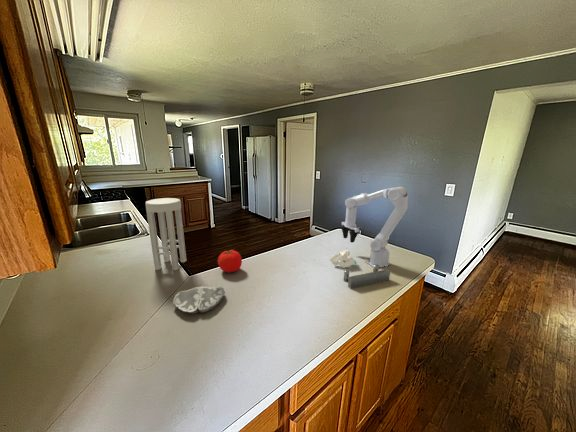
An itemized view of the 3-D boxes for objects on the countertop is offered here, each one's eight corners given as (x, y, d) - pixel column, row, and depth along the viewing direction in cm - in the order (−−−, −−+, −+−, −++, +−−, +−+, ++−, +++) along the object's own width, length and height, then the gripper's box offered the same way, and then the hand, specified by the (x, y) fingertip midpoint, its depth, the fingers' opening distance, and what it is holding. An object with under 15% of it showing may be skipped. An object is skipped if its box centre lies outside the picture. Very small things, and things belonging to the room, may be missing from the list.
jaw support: (351, 267, 121) (340, 251, 124) (340, 275, 126) (329, 259, 129) (361, 259, 130) (350, 245, 133) (349, 267, 135) (339, 253, 138)
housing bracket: (377, 272, 123) (378, 263, 121) (388, 280, 115) (390, 271, 114) (340, 279, 115) (341, 270, 114) (350, 288, 108) (351, 279, 106)
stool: (179, 272, 120) (171, 204, 111) (148, 271, 120) (138, 203, 111) (191, 258, 135) (185, 198, 126) (164, 258, 135) (156, 197, 126)
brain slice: (169, 322, 86) (168, 315, 85) (177, 295, 101) (176, 289, 101) (225, 313, 91) (225, 307, 90) (224, 289, 106) (224, 283, 106)
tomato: (244, 266, 127) (244, 246, 124) (238, 277, 116) (237, 256, 113) (223, 264, 128) (222, 245, 125) (214, 275, 117) (213, 254, 114)
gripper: (364, 220, 132) (362, 243, 136) (349, 214, 145) (347, 235, 149) (353, 221, 130) (351, 245, 133) (339, 215, 143) (337, 236, 147)
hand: (348, 240), depth 141 cm, fingers open, 6 cm apart
